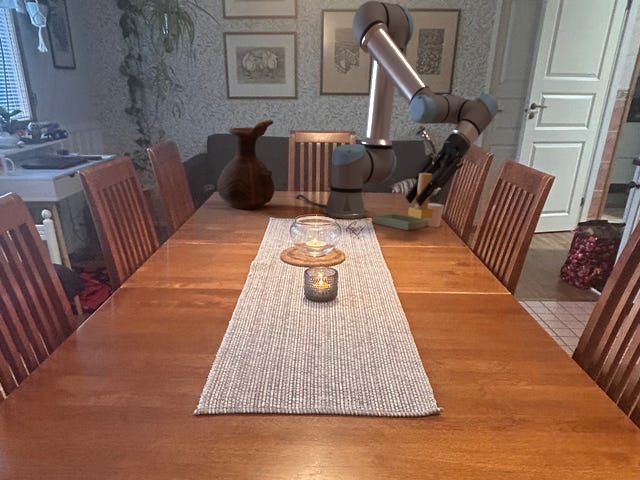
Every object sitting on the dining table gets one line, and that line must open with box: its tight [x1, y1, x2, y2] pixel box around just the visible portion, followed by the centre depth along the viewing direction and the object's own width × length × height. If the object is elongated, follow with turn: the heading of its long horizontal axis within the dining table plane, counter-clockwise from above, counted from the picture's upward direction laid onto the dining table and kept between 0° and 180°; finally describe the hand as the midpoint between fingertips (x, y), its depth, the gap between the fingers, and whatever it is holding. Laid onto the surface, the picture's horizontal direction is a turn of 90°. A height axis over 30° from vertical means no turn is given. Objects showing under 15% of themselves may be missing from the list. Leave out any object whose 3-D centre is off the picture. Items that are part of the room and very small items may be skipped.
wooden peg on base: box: [407, 173, 433, 220], centre depth 187 cm, size 6×5×12 cm
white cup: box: [423, 202, 445, 228], centre depth 210 cm, size 7×7×7 cm
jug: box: [216, 119, 276, 210], centre depth 222 cm, size 22×22×30 cm
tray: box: [373, 212, 427, 231], centre depth 210 cm, size 15×10×2 cm
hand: (413, 201), depth 186 cm, fingers closed on wooden peg on base, 4 cm apart
